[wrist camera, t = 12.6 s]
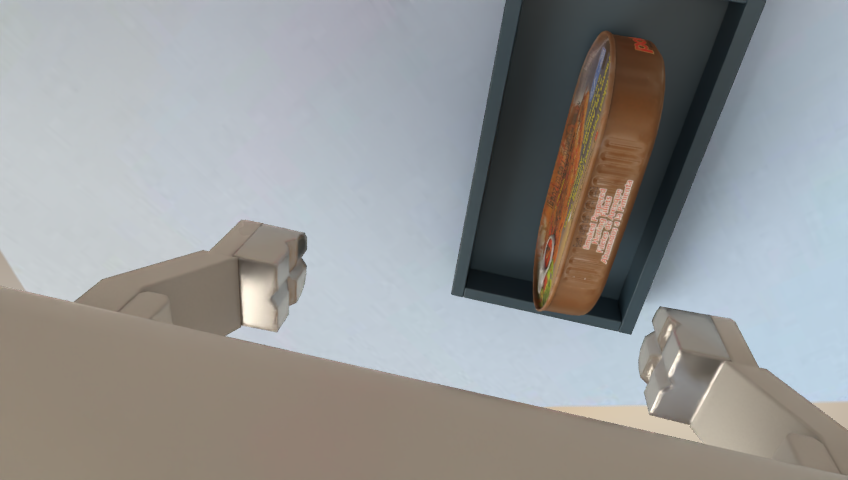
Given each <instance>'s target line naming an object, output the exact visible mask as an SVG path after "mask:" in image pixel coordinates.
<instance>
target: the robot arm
mask: <svg viewBox="0 0 848 480" xmlns="http://www.w3.org/2000/svg"><path fill="white" fill-rule="evenodd" d="M306 250H307V237H306V235H305V233H303V232H299V231H294V230H290V229H286V228H281V227H277V226H272V225H268V224H263V223H259V222H254V221H249V220H241V221H240V222H239V223H238V224H237V225H236V226H235V227H233V228H232V229H231V230H230V231H229V232H228V233H227V234H226V235H225V236H224V237H223V238H222V239H221V240H220V241H219V242H218V243H217V244H216V245H215V246H214V247H213V248H212V249H211V250H210V251H204V250H202V251H198V252H195V253H191V254H188V255H184V256H181V257H178V258H174V259H171V260H167V261H164V262H160V263H157V264H153V265H150V266H147V267H143V268H140V269H136V270H133V271H129V272H126V273H122V274H119V275H115V276H112V277H109V278H105V279H102V280H101V281H99V282H98V283H97V284H96V285H94V286H93V287H92V288H91V289H89V290H88V291H87V292H86V293H84V294H83V295H82V296H81V297H79V298H78V299H77V300H76V301H74V302H71V301H66V300H62V299H57V298H53V297H48V296H44V295H39V294H35V293H31V292H26V291H22V290H17V289H12V288H8V287H4V286H0V480H848V430H847V429H845V428H844V427H843V426H841V425H840V424H839V423H837V422H836V421H835V420H833V419H832V418H831V417H829V416H828V415H826V414H825V413H824V412H823V411H821V410H820V409H819V408H817V407H816V406H815V405H813V404H812V403H811V402H809V401H808V400H807V399H805V398H804V397H803V396H801V395H800V394H799V393H797V392H796V391H795V390H793V389H792V388H791V387H789V386H788V385H787V384H785V383H784V382H783V381H781V380H780V379H779V378H777V377H776V376H775V375H774V374H772V373H771V372H770V371H768V370H767V369H763V368H759V366H758V365H757V363H756V361H755V359H754V357H753V355H752V353H751V351H750V349H749V347H748V345H747V343H746V342H745V340H744V338H743V336H742V334H741V332H740V330H739V328H738V326H737V324H736V322H735V321H733V320H732V319H730V318H724V317H718V316H712V315H706V314H700V313H694V312H689V311H683V310H678V309H672V308H667V307H661V306H660V307H659V309H658V310H657V311H656V313H655V315H654V317H653V319H652V323H653V327H654V330H655V331H653V332H652V333H650V334H649V335H647V336H645V338H644V341H643V343H642V346H641V348H640V354H639V360H638V363H639V373H640V377H641V378H642V379H643V380H644V381H645V382H646V383H647V386H646V389H645V391H644V395H645V399H646V403H647V407H648V411H649V415H652V416H656V417H660V418H664V419H668V420H672V421H676V422H680V423H684V424H688V425H690V428H691V429H692V430H693V431H694V433H695V434H696V435H697V436H698V437H699V439H700V440H701V441H702V442H703V443H704V444H703V443H699V442H694V441H690V440H685V439H680V438H676V437H672V436H667V435H663V434H658V433H654V432H650V431H645V430H641V429H636V428H632V427H627V426H623V425H618V424H614V423H609V422H605V421H600V420H596V419H592V418H586V417H583V416H578V415H574V414H569V413H565V412H560V411H556V410H551V409H547V408H543V407H538V406H534V405H529V404H525V403H520V402H516V401H511V400H507V399H502V398H498V397H494V396H489V395H485V394H480V393H476V392H471V391H467V390H462V389H458V388H453V387H449V386H445V385H440V384H436V383H431V382H427V381H422V380H418V379H413V378H409V377H404V376H400V375H396V374H391V373H387V372H382V371H378V370H373V369H369V368H364V367H360V366H355V365H351V364H347V363H342V362H338V361H333V360H329V359H324V358H320V357H315V356H311V355H306V354H302V353H298V352H293V351H289V350H284V349H280V348H275V347H271V346H266V345H262V344H258V343H253V342H249V341H244V340H240V339H235V338H231V337H226V335H228V334H229V333H231V332H233V331H235V330H237V329H238V328H240V327H241V325H242V326H248V327H253V328H258V329H263V330H268V331H273V332H278V330H279V329H280V327H281V326H282V324H283V322H284V321H285V319H286V318H287V316H288V315H289V306H290V305H292V304H295V303H296V302H297V301H298V299H299V297H300V296H301V293H302V290H303V288H304V285H305V279H306V268H307V265H306V264H305V262H304V261H303V259H302V258H301V257H302V256H303V254H304V253H305V252H306Z"/></svg>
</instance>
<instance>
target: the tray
mask: <svg viewBox="0 0 848 480" xmlns="http://www.w3.org/2000/svg"><path fill="white" fill-rule="evenodd" d="M765 3H766V0H506V3H505V8H504V14H503V19H502V24H501V30H500V35H499V40H498V46H497V51H496V56H495V62H494V67H493V72H492V78H491V83H490V89H489V94H488V99H487V105H486V110H485V115H484V121H483V126H482V131H481V137H480V142H479V147H478V153H477V158H476V163H475V169H474V174H473V180H472V185H471V190H470V196H469V201H468V206H467V212H466V217H465V222H464V228H463V233H462V238H461V244H460V249H459V254H458V260H457V265H456V271H455V276H454V281H453V287H452V292H451V294H452V295H455V296H460V297H463V296H464V297H465V298H469V299H474V300H478V301H483V302H487V303H492V304H496V305H501V306H505V307H510V308H515V309H519V310H524V311H528V312H533V313H537V314H542V315H546V316H551V317H555V318H560V319H564V320H569V321H573V322H578V323H582V324H587V325H591V326H596V327H600V328H605V329H609V330H614V331H618V330H619V332H622V333H626V334H632V331H633V329H634V326H635V324H636V321H637V319H638V316H639V314H640V311H641V309H642V307H643V304H644V302H645V299H646V297H647V294H648V292H649V289H650V287H651V284H652V282H653V279H654V277H655V274H656V272H657V270H658V267H659V265H660V262H661V260H662V257H663V255H664V252H665V250H666V247H667V245H668V242H669V240H670V237H671V235H672V232H673V230H674V228H675V225H676V223H677V220H678V218H679V215H680V213H681V210H682V208H683V205H684V203H685V200H686V198H687V195H688V193H689V191H690V188H691V186H692V183H693V181H694V178H695V176H696V173H697V171H698V168H699V166H700V163H701V161H702V158H703V156H704V153H705V151H706V149H707V146H708V144H709V141H710V139H711V136H712V134H713V131H714V129H715V126H716V124H717V121H718V119H719V116H720V114H721V111H722V109H723V107H724V104H725V102H726V99H727V97H728V94H729V92H730V89H731V87H732V84H733V82H734V79H735V77H736V74H737V72H738V70H739V67H740V65H741V62H742V60H743V57H744V55H745V52H746V50H747V47H748V45H749V42H750V40H751V37H752V35H753V32H754V30H755V28H756V25H757V23H758V20H759V18H760V15H761V13H762V10H763V8H764V5H765ZM602 31H609V32H611V33H612V34H614V35H620V36H626V37H634V38H641V39H645V40H649V41H651V42H652V43H653V44H654V45H655V46H656V47H657V49H658V51H659V52H660V54H661V55H662V57H663V60H664V65H665V93H664V102H663V109H662V114H661V119H660V123H659V128H658V132H657V136H656V139H655V143H654V146H653V150H652V153H651V156H650V158H649V161H648V164H647V167H646V170H645V173H644V176H643V180H642V182H641V185H640V188H639V191H638V194H637V197H636V200H635V203H634V206H633V208H632V211H631V214H630V217H629V220H628V223H627V226H626V229H625V231H624V234H623V237H622V240H621V242H620V245H619V248H618V251H617V254H616V257H615V259H614V262H613V265H612V268H611V270H610V273H609V276H608V279H607V281H606V284H605V287H604V289H603V291H602V293H601V295H600V297H599V299H598V301H597V303H596V304H595V306H594V307H593V308H592V309H591V310H590V311H589V312H588V313H587V314H585V315H580V316H578V315H568V314H562V313H556V312H551V311H537V310H536V308H535V305H534V301H533V270H534V259H535V250H536V243H537V237H538V232H539V227H540V221H541V217H542V213H543V208H544V204H545V201H546V197H547V193H548V189H549V185H550V181H551V178H552V174H553V170H554V167H555V163H556V159H557V155H558V152H559V148H560V144H561V140H562V136H563V133H564V129H565V125H566V121H567V117H568V114H569V109H570V106H571V102H572V98H573V95H574V91H575V88H576V85H577V81H578V78H579V75H580V72H581V69H582V66H583V63H584V61H585V58H586V56H587V54H588V52H589V50H590V48H591V46H592V44H593V42H594V41H595V39H596V38H597V36H598V35H599V34H600V33H601V32H602Z"/></svg>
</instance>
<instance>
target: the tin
mask: <svg viewBox="0 0 848 480" xmlns="http://www.w3.org/2000/svg"><path fill="white" fill-rule="evenodd" d="M664 93H665V65H664V60H663V57H662V55H661V54H660V52H659V51H658V49H657V47H656V46H655V45H654V44H653V43H652V42H651V41H649V40H645V39H641V38H634V37H626V36H620V35H614V34H612V33H611V32H609V31H602V32H601V33H600V34H599V35H598V36H597V38H596V39H595V41H594V42H593V44H592V46H591V48H590V50H589V52H588V54H587V56H586V58H585V61H584V63H583V66H582V69H581V72H580V75H579V78H578V81H577V85H576V88H575V91H574V95H573V98H572V102H571V106H570V109H569V114H568V117H567V121H566V125H565V129H564V133H563V136H562V140H561V144H560V148H559V152H558V155H557V159H556V163H555V167H554V170H553V174H552V178H551V181H550V185H549V189H548V193H547V197H546V201H545V204H544V208H543V213H542V217H541V221H540V227H539V232H538V237H537V243H536V250H535V259H534V270H533V301H534V305H535V308H536V310H537V311H551V312H556V313H562V314H568V315H578V316H580V315H585V314H587V313H588V312H589V311H590V310H591V309H592V308H593V307H594V306H595V304H596V303H597V301H598V299H599V297H600V295H601V293H602V291H603V289H604V287H605V284H606V281H607V279H608V276H609V273H610V270H611V268H612V265H613V262H614V259H615V257H616V254H617V251H618V248H619V245H620V242H621V240H622V237H623V234H624V231H625V229H626V226H627V223H628V220H629V217H630V214H631V211H632V208H633V206H634V203H635V200H636V197H637V194H638V191H639V188H640V185H641V182H642V180H643V176H644V173H645V170H646V167H647V164H648V161H649V158H650V156H651V153H652V150H653V146H654V143H655V139H656V136H657V132H658V128H659V123H660V119H661V114H662V109H663V102H664Z"/></svg>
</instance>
